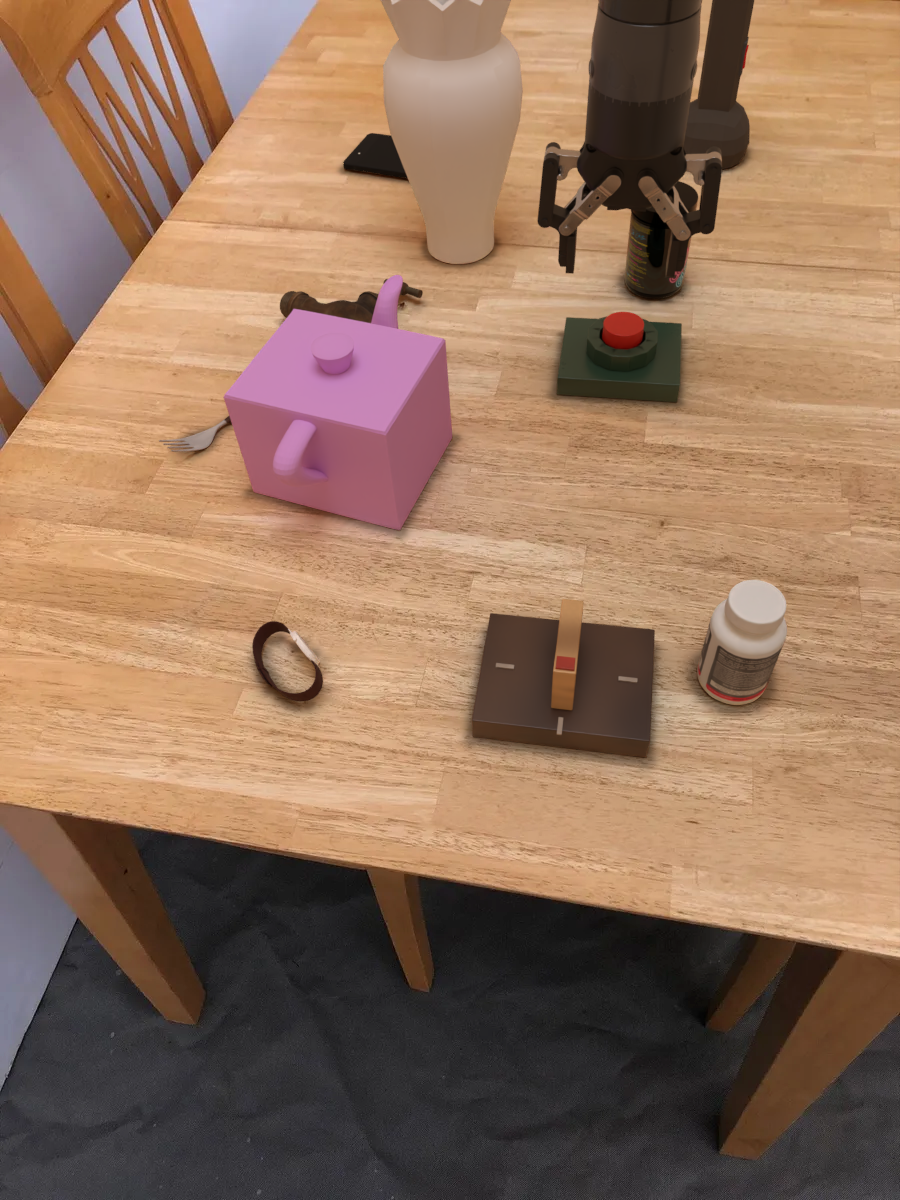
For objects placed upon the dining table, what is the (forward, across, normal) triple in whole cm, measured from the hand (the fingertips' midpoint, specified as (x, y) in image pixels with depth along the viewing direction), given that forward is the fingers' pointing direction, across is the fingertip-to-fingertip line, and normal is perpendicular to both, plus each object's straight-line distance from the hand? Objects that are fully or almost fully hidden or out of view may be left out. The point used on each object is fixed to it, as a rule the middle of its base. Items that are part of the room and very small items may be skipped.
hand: (619, 270), depth 80 cm
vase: (+16, +18, -27) cm, 37 cm away
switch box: (+15, -1, -6) cm, 17 cm away
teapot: (+16, +23, +10) cm, 29 cm away
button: (+12, -1, -6) cm, 13 cm away
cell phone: (+16, +27, -46) cm, 56 cm away
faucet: (+16, +27, -10) cm, 33 cm away
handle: (+12, +1, +34) cm, 36 cm away
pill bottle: (+15, -11, +31) cm, 36 cm away
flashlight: (+16, -11, -51) cm, 55 cm away
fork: (+16, +37, +5) cm, 41 cm away
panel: (+15, +1, +34) cm, 37 cm away
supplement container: (+16, -4, -21) cm, 27 cm away
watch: (+15, +23, +34) cm, 44 cm away
